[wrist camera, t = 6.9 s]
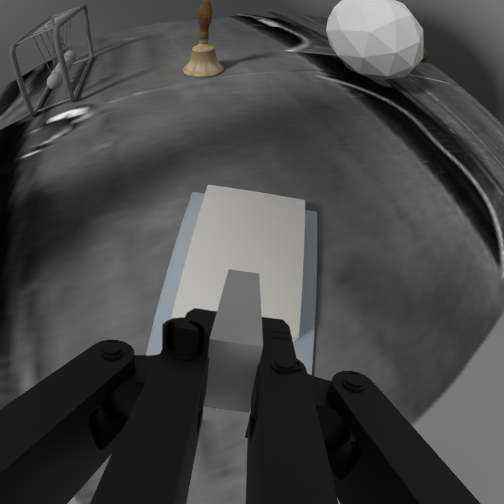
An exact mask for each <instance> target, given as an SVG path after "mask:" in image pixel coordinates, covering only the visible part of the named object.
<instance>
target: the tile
mask: <svg viewBox="0 0 504 504" xmlns="http://www.w3.org/2000/svg"><path fill="white" fill-rule="evenodd" d="M304 233H305V200H301V199H295V198H290V197H284V196H279V195H273V194H267V193H261V192H254V191H248V190H242V189H235V188H228V187H221V186H214V185H208V186H207V189H206V192H205V195H204V199H203V202H202V205H201V209H200V212H199V215H198V219H197V222H196V225H195V229H194V232H193V236H192V239H191V243H190V247H189V250H188V254H187V257H186V261H185V265H184V269H183V272H182V276H181V280H180V284H179V288H178V292H177V296H176V300H175V304H174V308H173V312H172V317H171V318H172V319H173V318H180V317H183V318H185V316H186V314H187V312H189V311H191V310H192V309H194V308H198V309H204V310H210V311H217V310H218V306H219V302H220V299H221V295H222V292H223V288H224V284H225V281H226V277H227V274H228V270H229V269H231V270H238V271H245V272H252V273H259V278H260V296H261V315H262V317H266V318H274V319H283V320H284V321H285V322H286V323H287V324H288V325H289V327H290V331H291V336H292V341H293V343H294V342H295V341H296V340H297V339H298V338H299V328H300V314H301V299H302V281H303V260H304Z"/></svg>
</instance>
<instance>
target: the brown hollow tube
mask: <svg viewBox="0 0 504 504" xmlns="http://www.w3.org/2000/svg"><path fill="white" fill-rule="evenodd" d="M428 57H429V54H428V52H427V50H425V49H424V48H423V59H422V61H425V60H427V59H428Z"/></svg>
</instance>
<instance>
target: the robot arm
mask: <svg viewBox="0 0 504 504" xmlns="http://www.w3.org/2000/svg"><path fill="white" fill-rule="evenodd" d="M203 406H206V407H212V408H219V409H226V410H234V411H242V412H249V411H250V406H251V414H250V418H249V422H248V427H247V431H246V435H245V438H248V449H247V483H246V504H338V500H339V502H340V504H480V503H479V501H478V500H477V499H476V498H475V497H474V496H473V495H472V493H471V492H470V491H469V490H468V489H467V488H466V487H465V486H464V484H463V483H462V482H461V481H460V480H459V479H458V478H457V476H456V475H455V474H454V473H453V472H452V471H451V470H450V469H449V467H448V466H447V465H446V464H445V463H444V462H443V461H442V459H441V458H440V457H439V456H438V455H437V454H436V453H435V451H434V450H433V449H432V448H431V447H430V446H429V445H428V444H427V443H426V441H425V440H424V439H423V438H422V437H421V436H420V435H419V434H418V433H417V431H416V430H415V429H414V428H413V427H412V426H411V424H410V423H409V422H408V421H407V420H406V419H405V418H404V417H403V415H402V414H401V413H400V412H399V411H398V410H397V409H396V408H395V406H394V405H393V404H392V403H391V402H390V401H389V400H388V399H387V397H386V396H385V395H384V394H383V393H382V392H381V391H380V390H379V388H378V387H377V386H376V385H375V384H374V383H373V382H372V381H371V380H370V379H369V378H368V377H366V376H365V375H362V374H360V373H358V372H353V371H342V372H339V373H336V374H335V375H334V376H333V378H332V381H329V380H325V379H321V378H317V377H314V376H312V375H310V374H308V373H307V370H306V367H305V365H304V364H303V363H302V362H301V361H300V360H298V359H297V358H296V353H295V349H294V344H293V341H292V336H291V331H290V327H289V325H288V324H287V323H286V322H285V321H284V320H283V319H274V318H266V317H262V315H261V296H260V278H259V273H252V272H245V271H238V270H231V269H229V270H228V274H227V277H226V281H225V284H224V288H223V292H222V295H221V299H220V302H219V306H218V310H217V311H210V310H204V309H198V308H194V309H192V310H191V311H189V312H187V314H186V316H185V318H183V317H180V318H173V319H170V320H167V321H166V322H165V323H164V324H162V350H161V352H160V354H157V355H148V356H144V355H134V350H133V348H132V347H131V346H130V345H129V344H127V343H125V342H122V341H119V340H105V341H101V342H98V343H96V344H94V345H93V346H92V347H90V348H89V349H87V350H86V351H84V352H83V353H81V354H80V355H78V356H77V357H75V358H74V359H73V360H71V361H70V362H68V363H67V364H65V365H64V366H62V367H61V368H59V369H58V370H57V371H55V372H54V373H52V374H51V375H49V376H48V377H46V378H45V379H44V380H42V381H41V382H39V383H38V384H36V385H35V386H34V387H32V388H31V389H29V390H28V391H26V392H25V393H24V394H22V395H21V396H19V397H18V398H16V399H15V400H14V401H12V402H11V403H9V404H8V405H6V406H5V407H4V408H2V409H1V410H0V504H67V503H68V502H69V501H70V500H71V499H72V498H73V497H74V495H75V494H76V493H77V492H78V491H79V490H80V489H81V488H82V487H83V485H84V484H85V483H86V482H87V481H88V480H89V479H90V478H91V476H92V475H93V474H94V473H95V472H96V471H97V470H98V469H99V467H100V466H101V465H102V464H103V463H104V462H105V461H106V459H107V458H108V457H109V456H110V455H111V454H112V455H111V457H110V459H109V462H108V464H107V466H106V468H105V471H104V473H103V475H102V477H101V480H100V482H99V484H98V487H97V489H96V491H95V494H94V496H93V499H92V501H91V503H90V504H186V501H187V496H188V490H189V485H190V479H191V474H192V469H193V463H194V458H195V453H196V448H197V443H198V437H199V432H200V427H201V422H202V416H203ZM337 498H338V500H337Z"/></svg>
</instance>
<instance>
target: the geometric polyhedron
mask: <svg viewBox="0 0 504 504" xmlns="http://www.w3.org/2000/svg"><path fill="white" fill-rule="evenodd" d="M326 32H327V36H328V40H329V44H330V46H331V47H332V49H333V50H334V51H335V53H336V54H337V55H338V57H339V58H340V59H341V60H342V62H343V63H344V64H345V66H346V67H347V68H348V69H350V70H352V71H354V72H357V73H359V74H361V75H364V76H366V77H368V78H370V79H373V80H375V81H378V80H387V79H395V78H404V77H406V76H407V75H408V73H409V72H410V71H411V70H412V69H413V68H414V67H415V66H416V65H417V64H418V63H419V62H420V61H421V60H422V59H423V29H422V27H421V26H420V25H419V23H418V22H417V20H416V19H415V18H414V16H413V15H412V14H411V12H410V11H409V10H408V9H407V7H406V6H405V5H404V4H403V3H400V2H398V1H395V0H342V1H340V2H339V3H338V4H337V5H336V6H335V7H334V9H333V11H332V12H331V14H330V16H329V18H328V22H327V28H326Z"/></svg>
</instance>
